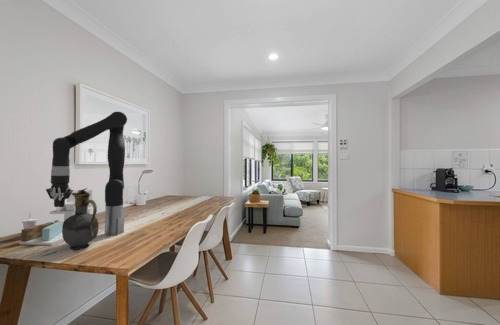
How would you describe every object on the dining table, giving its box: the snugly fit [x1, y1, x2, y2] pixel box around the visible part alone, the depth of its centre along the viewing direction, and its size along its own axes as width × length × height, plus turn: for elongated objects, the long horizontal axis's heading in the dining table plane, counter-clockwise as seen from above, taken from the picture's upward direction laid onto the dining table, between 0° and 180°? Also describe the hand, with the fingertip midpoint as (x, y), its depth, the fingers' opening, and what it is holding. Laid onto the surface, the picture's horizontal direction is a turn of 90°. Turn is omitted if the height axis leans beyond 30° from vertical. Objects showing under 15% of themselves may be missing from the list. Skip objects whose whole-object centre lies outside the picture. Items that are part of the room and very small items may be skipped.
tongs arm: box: [42, 219, 64, 241], centre depth 120 cm, size 17×4×7 cm, turn 21°
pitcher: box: [62, 187, 99, 251], centre depth 107 cm, size 11×19×30 cm, turn 67°
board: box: [19, 232, 65, 246], centre depth 120 cm, size 17×20×1 cm
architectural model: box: [49, 189, 93, 222], centre depth 146 cm, size 28×21×23 cm
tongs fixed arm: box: [20, 221, 55, 242], centre depth 118 cm, size 15×3×6 cm, turn 179°
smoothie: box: [21, 211, 39, 229], centre depth 122 cm, size 6×6×14 cm
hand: (59, 206), depth 114 cm, fingers closed
